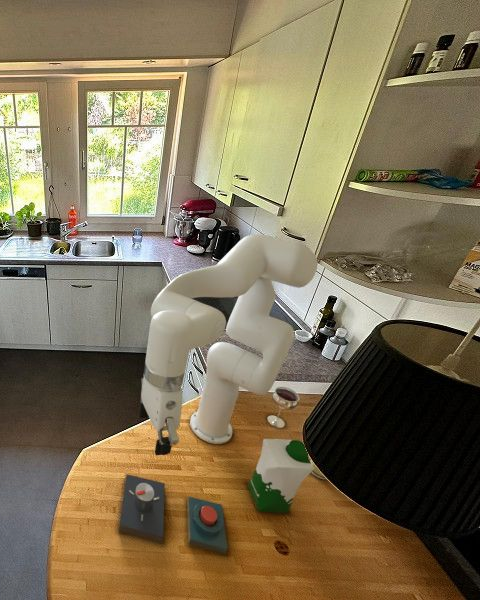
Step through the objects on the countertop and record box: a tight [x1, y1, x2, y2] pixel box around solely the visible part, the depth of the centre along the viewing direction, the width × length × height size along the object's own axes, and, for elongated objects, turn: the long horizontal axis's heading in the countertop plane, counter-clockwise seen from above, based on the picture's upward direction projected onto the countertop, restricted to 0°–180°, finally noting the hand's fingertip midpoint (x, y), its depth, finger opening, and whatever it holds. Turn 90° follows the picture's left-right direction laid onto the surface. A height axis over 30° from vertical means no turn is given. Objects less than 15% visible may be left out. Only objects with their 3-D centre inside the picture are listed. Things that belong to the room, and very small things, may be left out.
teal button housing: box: [186, 496, 228, 555], centre depth 77 cm, size 10×8×4 cm
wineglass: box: [267, 386, 300, 428], centre depth 103 cm, size 7×7×12 cm
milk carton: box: [247, 438, 314, 514], centre depth 79 cm, size 9×9×20 cm
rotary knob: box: [134, 483, 154, 512], centre depth 78 cm, size 4×4×5 cm
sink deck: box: [118, 473, 166, 544], centre depth 80 cm, size 13×10×3 cm
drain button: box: [200, 506, 217, 526], centre depth 76 cm, size 4×4×2 cm
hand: (153, 433), depth 70 cm, fingers open, 9 cm apart
